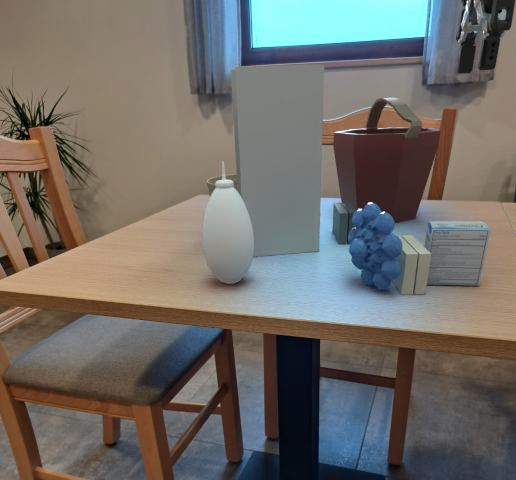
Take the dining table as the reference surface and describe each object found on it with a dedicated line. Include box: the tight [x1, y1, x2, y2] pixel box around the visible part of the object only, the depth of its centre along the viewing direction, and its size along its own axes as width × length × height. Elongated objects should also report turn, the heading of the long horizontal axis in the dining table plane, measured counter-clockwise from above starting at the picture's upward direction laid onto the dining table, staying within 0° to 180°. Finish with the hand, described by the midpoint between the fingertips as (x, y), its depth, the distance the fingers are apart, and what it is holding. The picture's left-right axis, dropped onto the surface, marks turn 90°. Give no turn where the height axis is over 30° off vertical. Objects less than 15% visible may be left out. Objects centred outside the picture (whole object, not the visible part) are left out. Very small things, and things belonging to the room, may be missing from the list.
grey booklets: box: [332, 202, 356, 245], centre depth 93 cm, size 3×10×6 cm, turn 179°
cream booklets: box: [392, 234, 431, 296], centre depth 69 cm, size 3×10×6 cm, turn 179°
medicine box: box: [424, 220, 491, 287], centre depth 68 cm, size 8×4×9 cm, turn 80°
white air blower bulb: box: [201, 160, 254, 285], centre depth 69 cm, size 8×8×18 cm
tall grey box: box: [230, 64, 325, 258], centre depth 81 cm, size 14×6×30 cm, turn 100°
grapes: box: [348, 203, 403, 291], centre depth 67 cm, size 12×7×12 cm, turn 23°
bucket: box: [332, 97, 441, 224], centre depth 105 cm, size 24×22×25 cm
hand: (474, 71), depth 70 cm, fingers open, 8 cm apart
